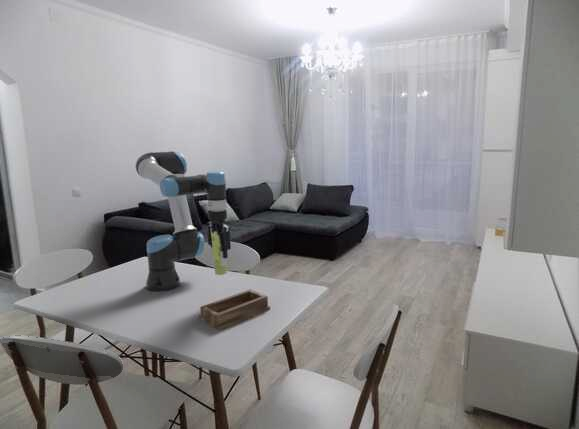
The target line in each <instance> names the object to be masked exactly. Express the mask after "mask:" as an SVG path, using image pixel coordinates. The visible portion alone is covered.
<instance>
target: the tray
mask: <svg viewBox="0 0 579 429" xmlns="http://www.w3.org/2000/svg"><path fill="white" fill-rule="evenodd" d="M268 298H269V297H268V295H265V294H263V293H260V292H257V291H255V290H253V289H247V290H245V291H241V292H238V293H236V294H233V295H230V296H227V297H225V298H222V299H218V300H216V301H213V302H211V303H207V304H205V305H202V306H200V307H199V308H200V315H199V316H198V317H199V319H200V320H202V321H204V322H205V323H207V324H209V325H210V326H212V327H214V328H216V329H217V330H220V331H221V330H223V329H226V328H228V327H230V326H233V325H236V324H238V323H241V322H243V321H245V320H248V319H250V318H252V317H255V316H257V315H260V314H262V313H264V312H266V311H269V310H271V306H270V305H269V301H268V300H269V299H268Z"/></svg>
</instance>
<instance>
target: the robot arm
mask: <svg viewBox="0 0 579 429" xmlns="http://www.w3.org/2000/svg"><path fill="white" fill-rule="evenodd" d="M187 169H188V164H187V161H186V158H185V156H184V155H183V154H182V153H181V152H180V151H159V152H158V151H155V152H146V153H144V154H142V155H140V156H139V157H138V158H137V160H136V161H135V171H136V173H137V174H138V175H139V176H140V177H141V178H143V179H147V180H150V181H151V182H152V183H154V184H155V185H157V186H159V190H160V193H161V195H162V196H163V197H165V198H167V199H168V203H169V204H168V205H169V208H170V213H171V218H172V222H173V225H174V232H172V235H171V234H161V235H157V236H154V237H152V238H150V239H148V240H147V242H146V253H147V254H146V255H147V265H148V274H147V278H146V282H145V285H146V289H147V290H148V291H151V292H164V291H170V290H172V289H176V288H177V287H179V285H181V284H180V283H181V279H180V276H179V275H178V272H177V270H176V267H175V264H176V263H175V262H180V261H183V260H184V261H185V260H189V259H194V258H197V257H200V256H201V255H202V254H203V253H204V250H205V237H204V235H203V234H202V232H199V231H198V229H197V227H195V226H194V225H193V222H192V221H193V220H192V217H191V213H190V212H191V211H190V207H189V204H188V200H187V198H188V197H187V196H188V195H198V194H206V196H207V209H208V211H207V214H208V215H207V216H208V220H210V221H209V222H206V226H207V244H208V246H210V248H211V255H212V256H211V257H212V264H214V255H213V246H212V237H211V232H212V233H214V231H215V232H217V234H218V235H219V239H220V244H221V249H222V250H220V252H221V266H225V265H226V266H227V265H228V258H229V257H228V250H229V251H230V250H231V246H232V245H231V234H230V233H231V232H230V231H231V226H229V225H227V224H226V219H228V212H227V208H228V207H227V186H226V185H227V184H226V182H227V181H226V175H225V172H223V171H208V172H207V173H206V174H196V175H191V176H185V174H186V173H187V171H188V170H187ZM210 228H212V230H210ZM222 231H223V232H222ZM220 232H221V233H220Z"/></svg>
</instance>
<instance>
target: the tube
mask: <svg viewBox="0 0 579 429" xmlns="http://www.w3.org/2000/svg"><path fill="white" fill-rule="evenodd" d="M210 230H212V228H210ZM222 232H223V231H222ZM220 233H221V232H220ZM211 237H212V246H213V255H214V263H213V264H214V266H213V267H214V273H215V274H214V275H217V276H222V275H226V274H228V273H227V272H228V271H227V265H225V266H221V252H220V250H222V249H221V244H220V239H219V235H218V234H217V232H215V231H214V233H212V232H211Z"/></svg>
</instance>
